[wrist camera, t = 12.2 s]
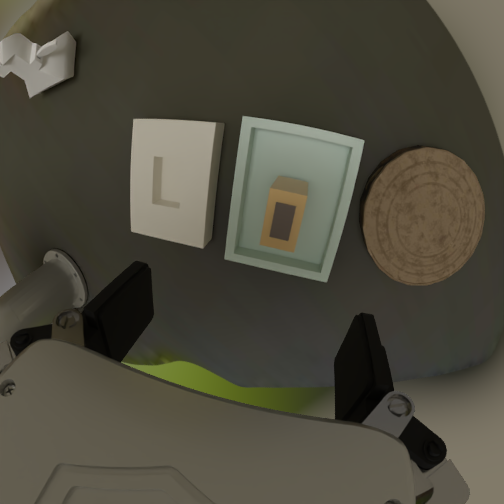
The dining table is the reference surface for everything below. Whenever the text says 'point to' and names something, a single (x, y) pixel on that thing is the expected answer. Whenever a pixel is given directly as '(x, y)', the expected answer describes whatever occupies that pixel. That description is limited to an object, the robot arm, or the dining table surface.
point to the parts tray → (318, 200)
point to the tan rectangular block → (284, 213)
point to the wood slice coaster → (421, 215)
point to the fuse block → (175, 179)
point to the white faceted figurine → (38, 61)
